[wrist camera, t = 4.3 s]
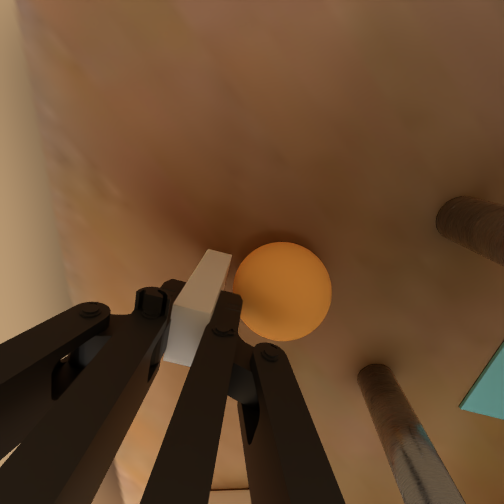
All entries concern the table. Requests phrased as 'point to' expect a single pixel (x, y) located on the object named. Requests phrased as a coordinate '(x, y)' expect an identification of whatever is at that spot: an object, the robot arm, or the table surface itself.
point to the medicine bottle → (230, 497)
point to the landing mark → (488, 389)
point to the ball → (283, 291)
